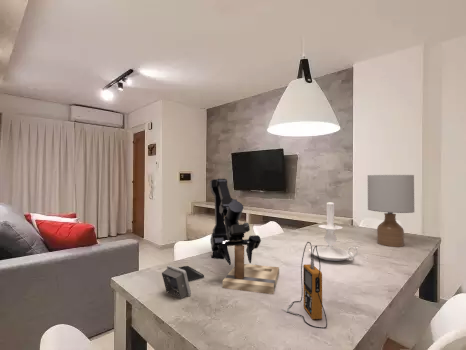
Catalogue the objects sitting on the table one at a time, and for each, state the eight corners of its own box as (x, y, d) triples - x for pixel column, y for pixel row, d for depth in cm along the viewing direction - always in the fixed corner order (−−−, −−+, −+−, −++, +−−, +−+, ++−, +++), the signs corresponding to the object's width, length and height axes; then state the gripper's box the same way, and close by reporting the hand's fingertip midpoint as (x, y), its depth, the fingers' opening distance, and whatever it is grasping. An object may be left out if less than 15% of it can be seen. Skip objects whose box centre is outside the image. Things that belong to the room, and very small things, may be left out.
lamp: (361, 243, 154) (361, 175, 155) (376, 237, 170) (375, 175, 171) (408, 252, 136) (407, 174, 137) (419, 244, 152) (418, 175, 153)
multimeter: (276, 302, 79) (276, 238, 80) (307, 301, 80) (307, 238, 81) (291, 330, 65) (291, 251, 65) (329, 328, 65) (328, 251, 66)
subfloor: (222, 287, 90) (222, 280, 90) (237, 269, 109) (237, 263, 109) (273, 294, 85) (273, 286, 85) (279, 273, 104) (279, 267, 104)
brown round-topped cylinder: (232, 284, 93) (232, 246, 93) (238, 281, 95) (238, 244, 96) (240, 287, 90) (240, 247, 91) (246, 284, 93) (246, 246, 94)
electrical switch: (191, 296, 84) (190, 268, 83) (179, 303, 80) (177, 274, 79) (174, 288, 89) (172, 262, 89) (161, 294, 85) (159, 268, 85)
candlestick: (344, 271, 107) (343, 205, 108) (300, 256, 128) (299, 201, 129) (371, 263, 118) (370, 203, 119) (326, 250, 139) (326, 199, 140)
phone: (187, 265, 111) (205, 275, 100) (187, 268, 111) (205, 278, 99) (170, 269, 106) (187, 280, 95) (170, 272, 106) (187, 283, 95)
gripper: (212, 216, 95) (218, 254, 84) (259, 214, 100) (270, 250, 89) (209, 233, 102) (214, 269, 91) (252, 230, 107) (262, 265, 96)
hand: (240, 263), depth 92 cm, fingers open, 7 cm apart
